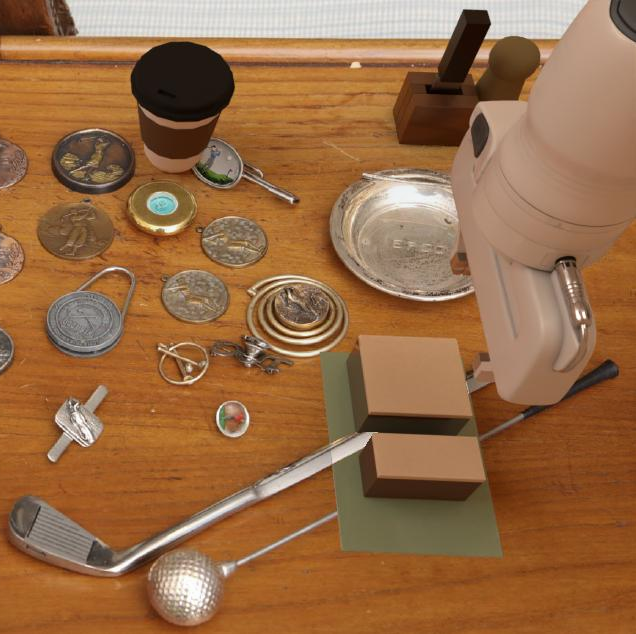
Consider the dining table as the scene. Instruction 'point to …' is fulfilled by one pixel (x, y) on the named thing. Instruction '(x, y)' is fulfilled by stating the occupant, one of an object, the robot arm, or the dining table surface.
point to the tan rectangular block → (421, 467)
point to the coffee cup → (180, 101)
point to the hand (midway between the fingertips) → (471, 318)
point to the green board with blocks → (404, 418)
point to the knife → (461, 51)
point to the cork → (508, 69)
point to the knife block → (433, 111)
